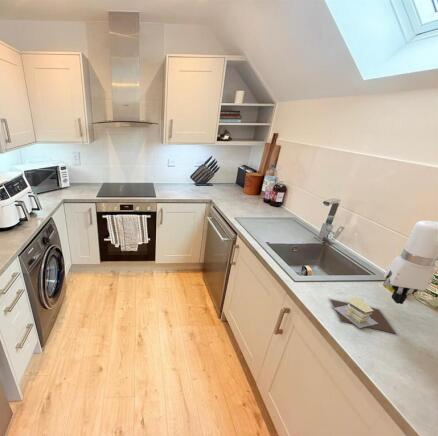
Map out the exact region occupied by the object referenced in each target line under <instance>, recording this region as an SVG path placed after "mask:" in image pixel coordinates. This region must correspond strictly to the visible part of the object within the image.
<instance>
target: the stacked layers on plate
mask: <svg viewBox="0 0 438 436" xmlns="http://www.w3.org/2000/svg"><path fill="white" fill-rule="evenodd" d="M348 301H349V302H347V303H348V305H346V306H341V307H336V308H335V307H334V308H333V309H334V310H335V311H336V310H337V311H338V312H340V313H341V314H342V315H343V316H345V317H346V318H347V319H349V320H350V321H351V322H352V323H354V324H353V325H355V326H356V327H357V328H359V329H361V328H367V327H366V326H370V325H374V324H378V323H377V322H376V321H374V320H373V319H371V318H370V317H369V315H370V314H372V312H370V311H374V310H372V309H371V308H372V307H371V306H369V304H367V303H366V302H365V301H364V300H362V299H361V298H358V297H352V298H351V299H350V300H348ZM337 311H336V312H337Z"/></svg>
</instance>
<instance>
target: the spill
mask: <svg viewBox="0 0 438 436" xmlns="http://www.w3.org/2000/svg"><path fill="white" fill-rule="evenodd" d="M330 301H331V303H332V305H333V307H334V308H336V307H341V306H346V305H348V303H349V302H344V301H341V300H335V299H330ZM370 308H371V309H372V310H374V311H370V312H372V314H370V315H369V317H370V318H371V319H373V320H374V321H376V322H377V323H378V324H374V325H370V326H366V327H365V328H369V329H371V330H377V331H382V332H386V333H389V334H396V332H395V330H394V329H393V327H392V326H391V325H390V323H389V322H388V320H387V319H386V318H385V316H384V315H383V313H382V312H381V311H380V309H378V308H374V307H370ZM335 311H336V313H337V316H338V317H339V319H340V321H341V322H342V323H346V324H351V325H355V324H354V323H352V322H351V321H350V320H349V319H347V318H346V317H345V316H343V315H342V314H341V313H340V312H338V311H337V310H336V309H335Z"/></svg>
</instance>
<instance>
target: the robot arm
mask: <svg viewBox="0 0 438 436" xmlns="http://www.w3.org/2000/svg"><path fill="white" fill-rule="evenodd" d="M436 262H438V221H434V220H419V221H417V222H416V223H415V224H414V226H413V228H412V230H411V232H410V234H409V237H408V239H407V241H406V243H405V245H404V247H403V250H402V251H401V254H400V255H397V256H396V257H394V259H393V260H392V262H390V264H389V266H388V267H387V269H386V271H385V273H384V279H385V280H384V281H383V284H384V285H385V286H386V287H388V288H392V289H393V292H392V294H391V299H392V300H393V301H394V303H395V304H399V305H404V302H405V301H406V300H407V298H408V296H411V295H412V294H414V293H417V292H418V293H419V292H421V293H422V292H423V293H424V292H426V290H427V289H429V287H430V286H431V284H432V282H433V280H434V277H435V274H436V267H437V265H436Z"/></svg>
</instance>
